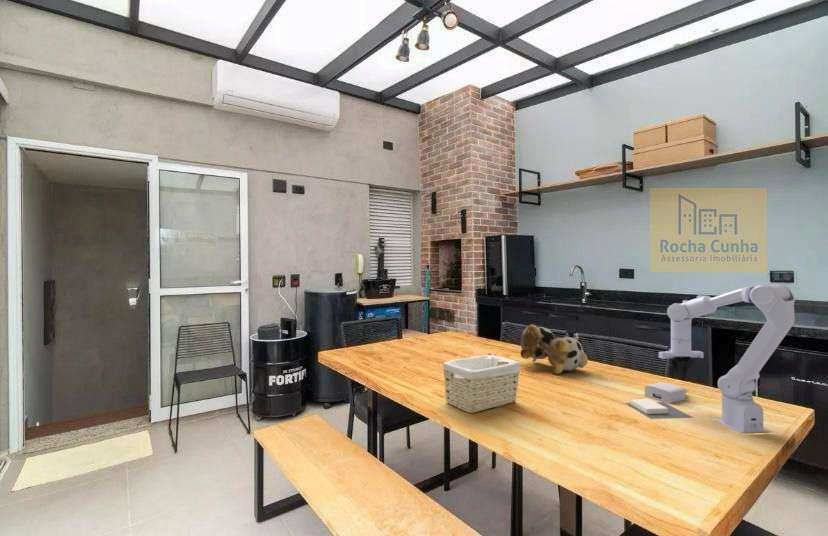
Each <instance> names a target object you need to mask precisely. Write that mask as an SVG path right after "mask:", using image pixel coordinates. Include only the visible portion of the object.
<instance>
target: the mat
mask: <svg viewBox="0 0 828 536" xmlns="http://www.w3.org/2000/svg"><path fill="white" fill-rule="evenodd" d="M655 402H656V403H658V404H660V405H662V406H664V407H666V408H668V413H667V414H646V413H644V412H642V411H641V410H639V409H637V408H636V407H634V406H632V405H631V404H630V402H624V404H625V405H626V406H629V407H630V408H632V409H633V410H635V411H637V412H639V413H640V414H642V415H644V416H645V417H647V418H649V419H650V420H655V419H656V420H657V419H661V420H662V419H685V418H686V419H690V418H694V416H691V415H690V414H688V413H686V412H683V411H681V410H679V409H677V408H676V407H673V406H671V405H670V404H669V403H667V402H664V401H658V402H657V401H655Z"/></svg>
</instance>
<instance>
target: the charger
mask: <svg viewBox="0 0 828 536" xmlns="http://www.w3.org/2000/svg"><path fill="white" fill-rule="evenodd" d="M687 393H688V390H687V389H686V388H684V387H683V386H680V385H679V386H678V385H675V384H672V383H667V382H655V383H653V384H647V385H645V386H644V396H645V397H649V398H650V399H653V400H658V401H659V402H664V403H666V404H673V403H678V402H682V401H685V400H686V398H687V397H686V394H687Z"/></svg>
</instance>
